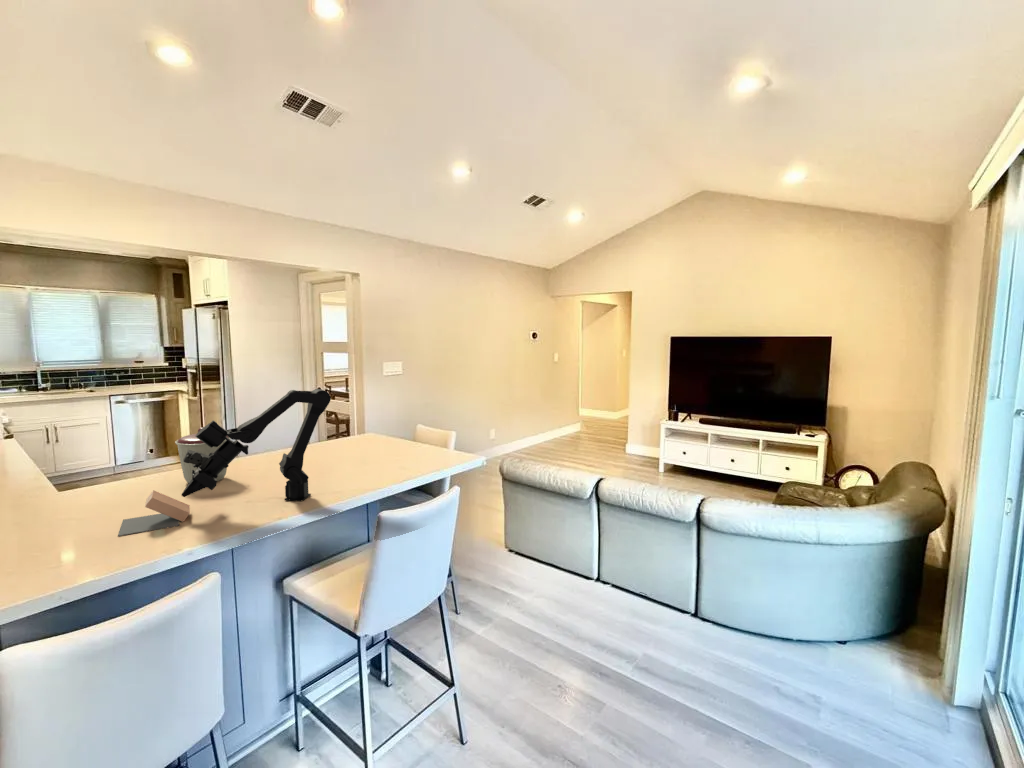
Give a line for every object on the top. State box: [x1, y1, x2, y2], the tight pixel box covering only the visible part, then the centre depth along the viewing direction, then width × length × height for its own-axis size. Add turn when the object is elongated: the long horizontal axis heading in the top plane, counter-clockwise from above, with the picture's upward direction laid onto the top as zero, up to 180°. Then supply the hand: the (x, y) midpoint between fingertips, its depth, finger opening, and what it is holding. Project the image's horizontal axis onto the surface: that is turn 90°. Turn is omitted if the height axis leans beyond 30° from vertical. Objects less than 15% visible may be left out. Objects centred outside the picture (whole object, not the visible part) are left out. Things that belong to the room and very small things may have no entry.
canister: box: [174, 426, 232, 484], centre depth 182 cm, size 18×18×21 cm
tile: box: [144, 490, 191, 522], centre depth 143 cm, size 3×8×11 cm
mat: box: [117, 513, 180, 537], centre depth 141 cm, size 14×14×1 cm
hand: (182, 496), depth 145 cm, fingers closed
